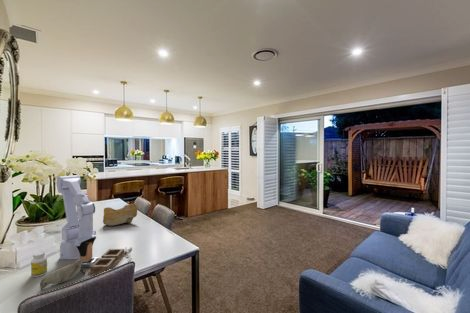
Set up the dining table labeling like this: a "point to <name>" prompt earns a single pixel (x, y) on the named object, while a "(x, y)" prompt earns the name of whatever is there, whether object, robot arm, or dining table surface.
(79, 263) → the decorative bird
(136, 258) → the dining table surface
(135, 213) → the rough brown rock
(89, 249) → the peg
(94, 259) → the socket
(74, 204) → the robot arm
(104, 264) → the rack
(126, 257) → the pliers
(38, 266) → the supplement bottle
